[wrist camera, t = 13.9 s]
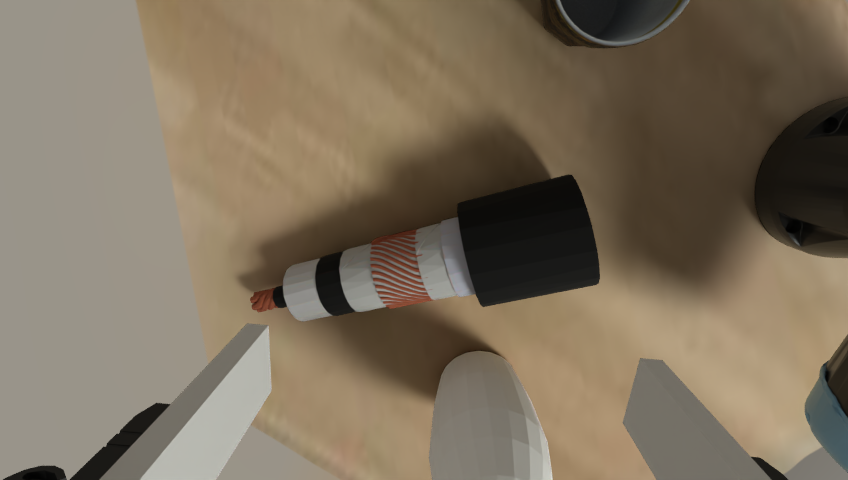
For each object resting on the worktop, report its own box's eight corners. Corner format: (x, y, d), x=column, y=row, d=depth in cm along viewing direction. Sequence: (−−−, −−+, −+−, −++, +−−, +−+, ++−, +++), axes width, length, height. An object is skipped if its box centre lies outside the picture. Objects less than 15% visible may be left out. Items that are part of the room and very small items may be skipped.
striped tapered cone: (279, 261, 49) (217, 251, 39) (563, 190, 42) (572, 157, 32) (289, 344, 47) (227, 356, 38) (589, 286, 40) (607, 282, 30)
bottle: (466, 323, 46) (495, 558, 21) (544, 371, 47) (655, 642, 23) (413, 391, 48) (386, 665, 24) (488, 434, 50) (534, 734, 26)
